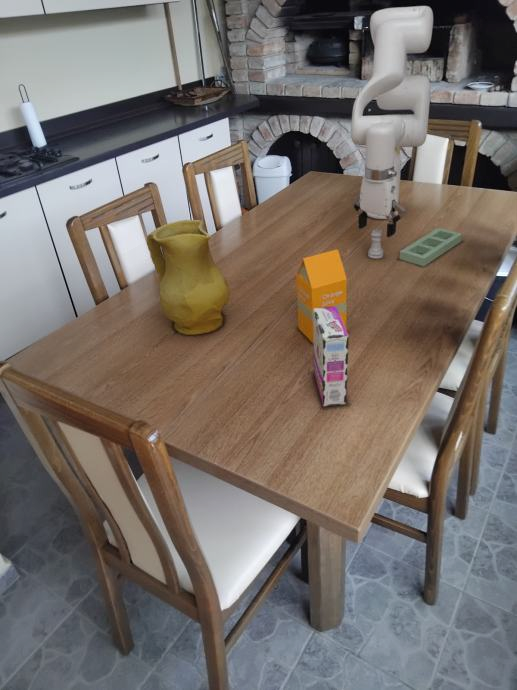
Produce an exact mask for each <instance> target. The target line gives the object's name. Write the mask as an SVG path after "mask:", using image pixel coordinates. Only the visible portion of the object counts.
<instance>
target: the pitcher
mask: <svg viewBox="0 0 517 690" xmlns="http://www.w3.org/2000/svg"><path fill="white" fill-rule="evenodd" d="M210 239H211V236H210V234H209V233H208V232H206V229H205V222H204V221H203V220H202V219H182V220H177V221H173V222H170V223H166V224H163V225H161V226H159V227H156V228H155V229H154V230H153V231H151V232H150V233H148V234H147V236H146V245H147V248H148V251H150V259H151V261H152V264H153V265H154V266H155V271H156V273H157V275H158V282H159V286H158V297H159V303H160V306H161V309H162V312H163V314H164V315H165V317H166V318H167V319H168V320H170V321H172V322H174V325H173V326H174V329H175V331H177V333H178V334H183V335H187V336H188V335H190V336H192V335H194V336H196V335H202V334H206V333H207V334H208V333H211V332H213V331H216V330H217V329H219V328H221V326H223V321H224V316H223V314H222V310H223V308H224V307H225V306H227V305H228V302H229V300H230V296H231V292H230V286H229V283H228V281H227V278H226V277H225V275H224V273H223V272H222V271H221V270H220V269H219V267H218V266H217V265H216V263H215V261H214V258H213V255H212V253H211V248H210V243H209V241H210Z"/></svg>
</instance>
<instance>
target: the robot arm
mask: <svg viewBox="0 0 517 690" xmlns="http://www.w3.org/2000/svg"><path fill="white" fill-rule="evenodd" d="M369 19H370V20H369V30H370V35H371V36H370V37H371V40H372V43H373V46H374V50H373V62H372V63H373V64H372V74H371V78H370V80H369V81H367V82H366V83H365V85H364V86H363V87H362V88H361V90H360V91H359V92H358V94H357V96H356V98H355V100H354V102H353V107H352V112H351V113H352V114H351V122H350V123H351V124H350V138H351V141H352V142H353V143H354V144H355V145H356V146H365V157H364V158H365V163H364V165H365V166H364V175H363V178H362V180H361V185H360V192H359V194H357V195H354V196H352V197H351V202H352V205H353V209H354V210H355V211H356V215H357V216H358V219H357V220H358V222H357V223H358V229H359V230H361V229H364V228H366V227H367V225H368V217H369V218H371V219H377V220H387V221H388V223H387V224H386V237H387V238H390V237H392V236H394V235H395V234H396V231H397V222H398V221H400V220H401V219H402V218H403V217H404V215H405V213H406V211H407V210H406V209H405V208H404V207H403V206H402V205H401V204H400V203H399V201H400V200H399V199H400V186H401V171H402V159H401V156H400V154H399V152H398V151H397V150H396V148H419V147H422V146H423V145H424V144H425V142H426V140H427V136H428V127H429V113H430V102H431V82H430V79H429V78H428V77H427V76H426V75H422V74H412V75H408V73H407V68H408V67H407V66H408V55H407V54H422V53H425V52H427V50H428V49H429V47H430V45H431V41H432V35H433V27H434V13H433V10H432V8H431V7H430V6H429V5H428V6H427V5H416V6H401V7H400V6H399V7H388V8H387V7H386V8H383V9H378V10H376V11H374V13H372V14H371V16H370V18H369ZM374 99H376V104H377V107H378V109H380V110H383V111H385V110H386V111H403V110H406V111H407V110H410V111H412V112H413V114H411V113H410V114H382V115H363V114H364V110H365V108H366V107H367V105H368V104H369V103H370V102H371V101H373V100H374Z"/></svg>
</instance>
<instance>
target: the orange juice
mask: <svg viewBox="0 0 517 690" xmlns="http://www.w3.org/2000/svg"><path fill="white" fill-rule="evenodd" d="M295 279H296V305H297V325H298V330H299V331H300V332H301V333H302V334H303V335H304V336H305V337H306V338H307V339H308V340H309V341H310V342H311V343H312V344H313V345H314V308H323V307H333V306H337V308H338V311H339V313H340V316H341V318H342V321H343V323H344V326H345V328H346V329H347V310H348V309H347V308H348V307H347V305H348V304H347V296H348V295H347V290H348V289H347V287H348V285H347V284H348V278H347V274H346V271H345V268H344V265H343V261H342V258H341V255H340V252H339V248H338V249H333V250H330V251H326V252H322V253H319V254H315V255H311V256H307V257H303V258H302V261H301V264H300V266H299V268H298V270H297V272H296V274H295Z"/></svg>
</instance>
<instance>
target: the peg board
mask: <svg viewBox="0 0 517 690" xmlns="http://www.w3.org/2000/svg"><path fill="white" fill-rule="evenodd" d="M462 238H463V233H462V232H461V233H460V232H458V231H453V230H449V229H445V228H441V227H437V228H435V229H434V230H431V232H429V233H427V234H426V235H424V236H422V237H421V238H419V239H417V240H415V241H414V242H412V243H411V244H409V245H408V246H406V247H404V248H403V249H401V250H399V256H398V259H399V260H401V261H405V262H408V263H411V264H414V265H417V266H421V267H425V266H427V265H428V264H430V263H431V262H433V261H435V260H436V259H437V258H439V257H440V256H441V255H443V254H445V253H446V252H448V251H449V250H451V249H453V248H454V247H455V246H457V245H458V244H459V243H461V242H462Z"/></svg>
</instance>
